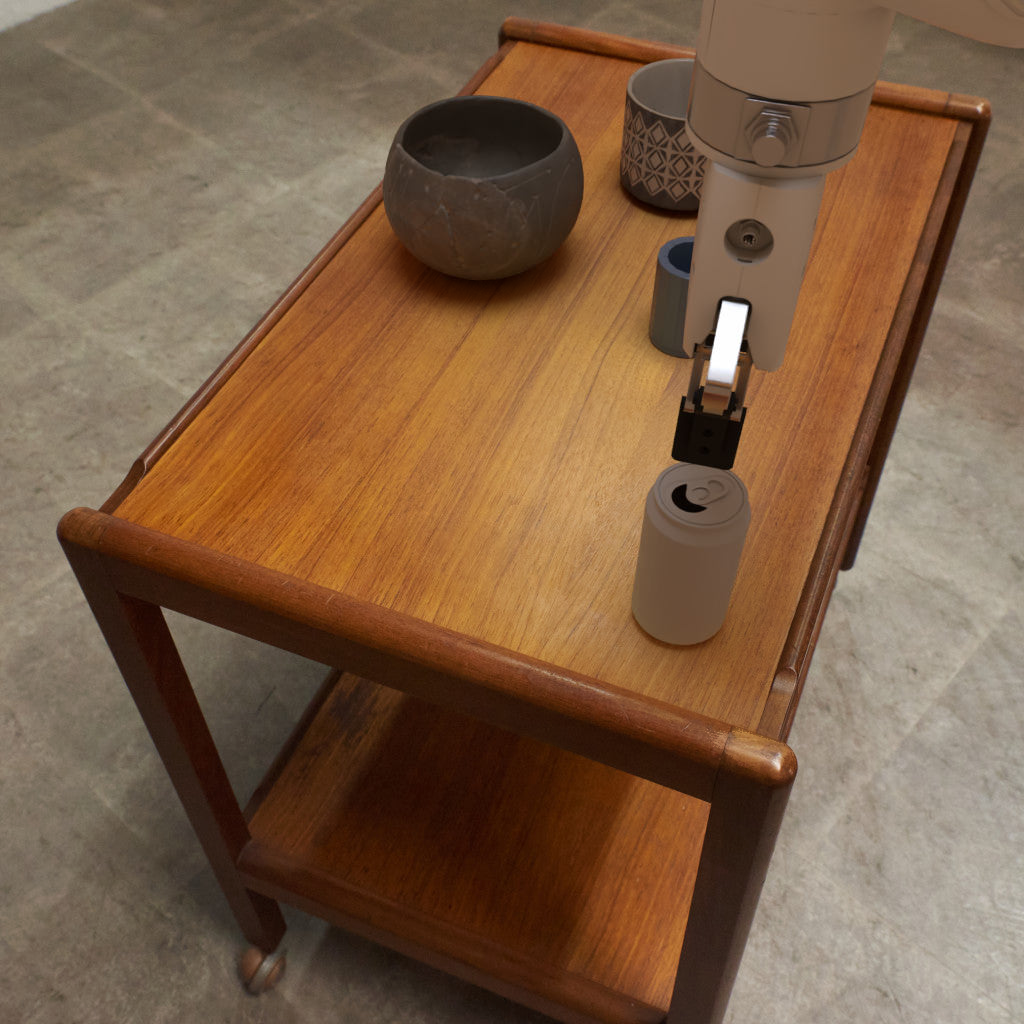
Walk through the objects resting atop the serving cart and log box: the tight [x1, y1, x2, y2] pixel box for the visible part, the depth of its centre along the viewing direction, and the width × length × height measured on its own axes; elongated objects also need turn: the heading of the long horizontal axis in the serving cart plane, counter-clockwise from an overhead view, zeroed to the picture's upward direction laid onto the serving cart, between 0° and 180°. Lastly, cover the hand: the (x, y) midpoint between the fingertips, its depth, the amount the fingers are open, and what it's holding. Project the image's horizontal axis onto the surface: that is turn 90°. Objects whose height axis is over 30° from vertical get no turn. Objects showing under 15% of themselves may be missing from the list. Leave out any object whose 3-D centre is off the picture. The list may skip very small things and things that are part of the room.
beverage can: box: [631, 461, 752, 646], centre depth 68 cm, size 6×6×12 cm
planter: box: [618, 57, 707, 212], centre depth 105 cm, size 13×13×10 cm
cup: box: [648, 235, 713, 359], centre depth 90 cm, size 6×6×8 cm
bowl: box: [382, 94, 585, 281], centre depth 96 cm, size 18×18×13 cm
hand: (713, 400), depth 58 cm, fingers open, 9 cm apart
